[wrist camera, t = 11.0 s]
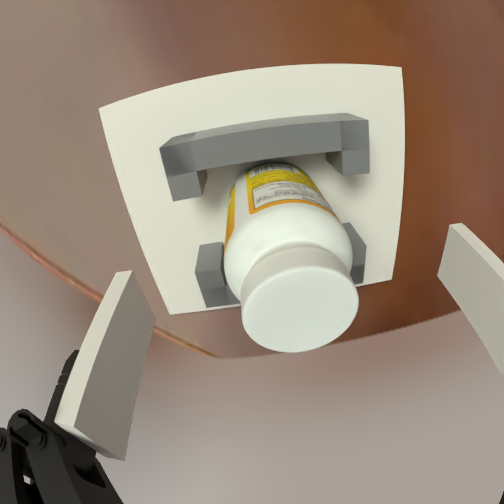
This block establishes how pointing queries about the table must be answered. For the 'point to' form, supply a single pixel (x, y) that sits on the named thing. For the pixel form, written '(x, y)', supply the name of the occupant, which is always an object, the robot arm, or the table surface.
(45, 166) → the table surface
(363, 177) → the socket
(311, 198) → the supplement bottle
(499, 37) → the table surface
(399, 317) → the table surface
